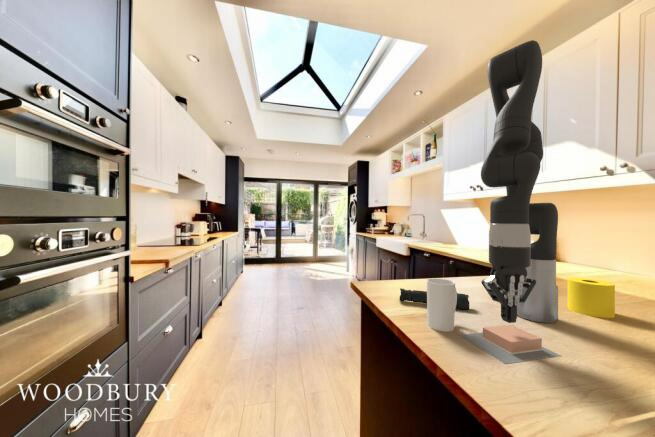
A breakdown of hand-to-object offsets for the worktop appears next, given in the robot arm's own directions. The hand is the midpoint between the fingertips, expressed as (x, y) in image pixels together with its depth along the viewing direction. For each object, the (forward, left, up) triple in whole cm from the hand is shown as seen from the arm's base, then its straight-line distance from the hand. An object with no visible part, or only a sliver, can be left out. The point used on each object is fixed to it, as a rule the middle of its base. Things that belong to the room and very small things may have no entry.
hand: (508, 321), depth 55 cm
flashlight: (0, -27, -6) cm, 27 cm away
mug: (+7, -12, -6) cm, 15 cm away
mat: (+1, 0, -5) cm, 5 cm away
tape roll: (-45, -12, -6) cm, 47 cm away
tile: (+4, 0, -4) cm, 5 cm away
